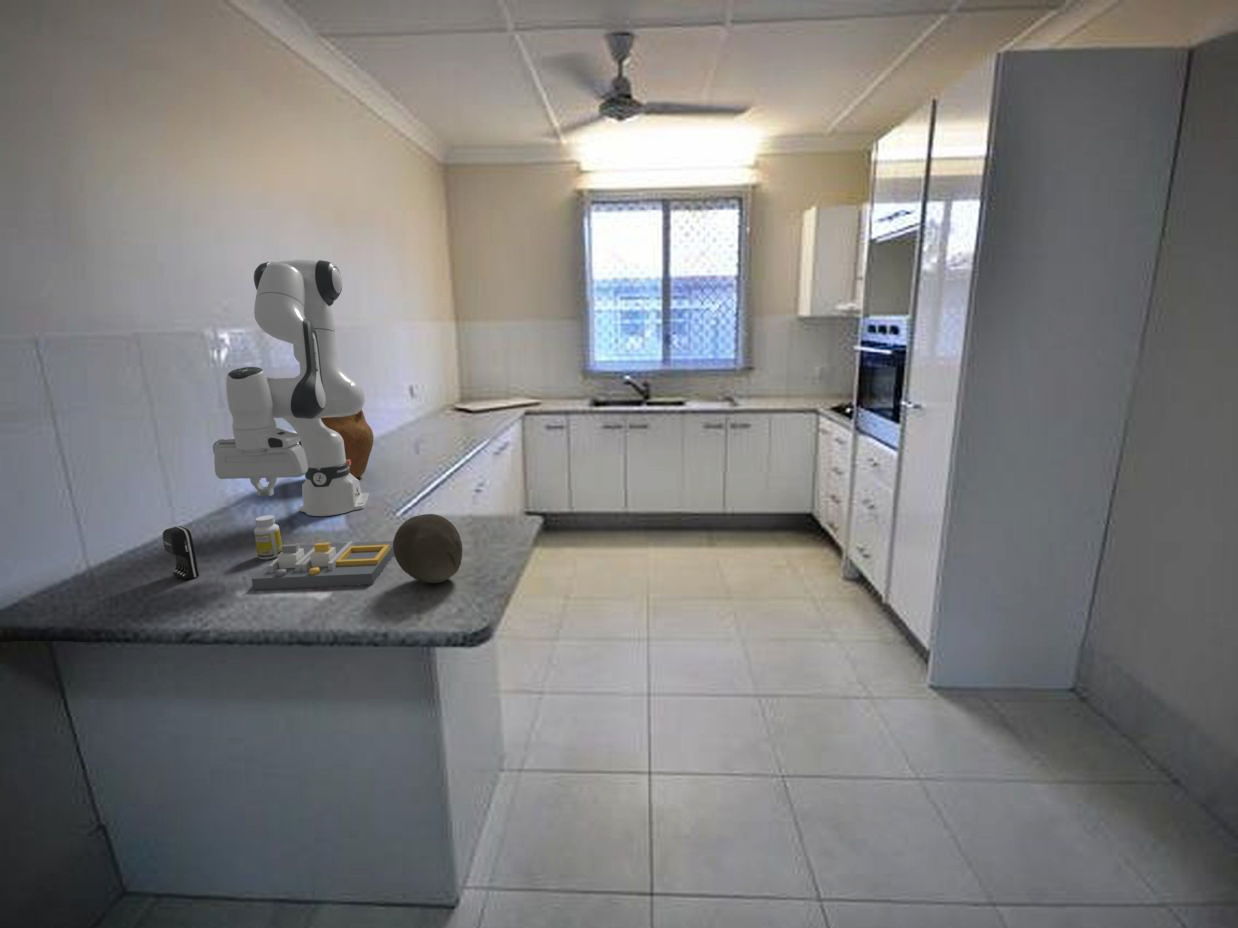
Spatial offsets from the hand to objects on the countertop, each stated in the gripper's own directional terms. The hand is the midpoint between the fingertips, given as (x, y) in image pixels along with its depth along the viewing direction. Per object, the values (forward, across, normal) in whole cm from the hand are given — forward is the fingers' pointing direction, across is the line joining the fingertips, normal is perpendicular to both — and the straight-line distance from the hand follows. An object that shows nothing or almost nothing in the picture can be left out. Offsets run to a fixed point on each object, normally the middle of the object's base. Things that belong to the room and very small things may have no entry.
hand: (266, 495), depth 149 cm
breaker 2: (+12, +17, -12) cm, 25 cm away
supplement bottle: (+16, -1, 0) cm, 16 cm away
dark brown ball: (+15, +43, -18) cm, 49 cm away
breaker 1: (+13, +10, -13) cm, 21 cm away
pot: (+17, -14, +73) cm, 76 cm away
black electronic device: (+15, -15, -12) cm, 24 cm away
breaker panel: (+15, +17, -9) cm, 25 cm away
